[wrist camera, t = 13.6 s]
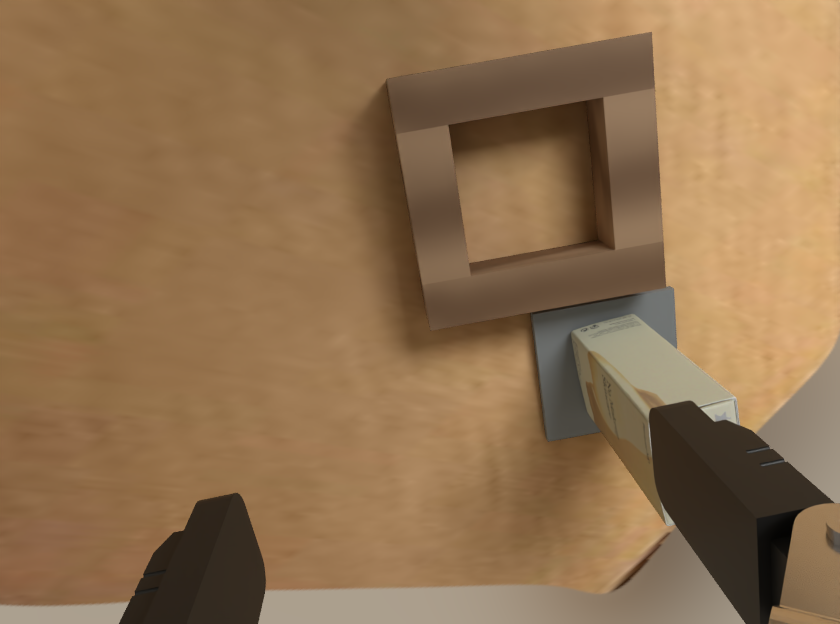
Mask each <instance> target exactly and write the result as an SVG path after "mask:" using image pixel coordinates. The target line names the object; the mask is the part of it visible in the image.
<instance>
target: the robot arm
mask: <svg viewBox="0 0 840 624" xmlns="http://www.w3.org/2000/svg"><path fill="white" fill-rule="evenodd" d="M649 428H650V438H651V449H652V460H653V471H654V480H655V485H656V489H657V492H658V495H659V498H660V501H661V503H662V505H663V507H664V509H665V510H666V512H667V513H668V515H669V516H670V518H671V519H672V521H673V522H674V523H675V525H676V526H677V528H678V529H679V530H680V532H681V533H682V535H683V536H684V537H685V539H686V540H687V542H688V543H689V544H690V546H691V547H692V549H693V550H694V551H695V553H696V554H697V555H698V557H699V558H700V560H701V561H702V563H703V564H704V565H705V567H706V568H707V570H708V571H709V573H710V574H711V575H712V577H713V578H714V580H715V581H716V582H717V584H718V585H719V587H720V588H721V589H722V591H723V592H724V594H725V595H726V597H727V598H728V599H729V601H730V602H731V603H732V605H733V606H734V608H735V609H736V611H737V612H738V613H739V615H740V616H741V618H742V619H743V620H744V622H745V623H746V624H840V503H834V502H833V501H832V500H831V499H830V498H828V497H827V496H826V495H825V494H824V493H822V492H821V491H820V490H819V489H818V488H817V487H816V486H815V485H813V484H812V483H811V482H810V481H809V480H808V479H807V478H805V477H804V476H803V475H802V474H801V473H800V472H798V471H797V470H796V469H795V468H794V467H793V466H792V465H791V464H789V463H788V462H785V461H784V459H783V457H781V456H780V455H779V454H778V453H777V452H776V451H774V450H773V449H770V448H769V445H768V444H766V443H765V442H764V441H763V440H762V439H761V438H760V437H758V436H757V435H756V434H755V433H754V432H753V431H752V430H749V429H747V428H745V427H742V426H740V425H737V424H735V423H733V422H730V421H728V420H726V419H725V420H721V421H716V422H714V421H713V420H712V419H711V418H710V417H709V416H708V415H707V414H706V413H705V412H704V411H703V410H702V409H700V408H699V407H698V406H697V405H696V404H695V403H694V402H693V401H691V400H688V401H683V402H678V403H673V404H668V405H664V406H659V407H654V408H651V409H650V412H649ZM143 575H144V578H141V580H140V582H139V584H138V586H137V588H136V590H135V596H132V598H131V600H130V602H129V604H128V607H127V608H126V610H125V612H124V614H123V617H122V619H121V620H120V623H119V624H258V621H259V616H260V612H261V608H262V603H263V599H264V594H265V587H266V577H265V568H264V562H263V558H262V555H261V552H260V549H259V546H258V543H257V540H256V537H255V534H254V531H253V528H252V525H251V522H250V518H249V515H248V512H247V509H246V506H245V503H244V501H243V499H242V497H241V496H240V494H238V493H233V494H229V495H224V496H219V497H214V498H209V499H205V500H200V501H198V502H197V503H196V505H195V507H194V509H193V511H192V514H191V516H190V518H189V520H188V523H187V525H186V527H185V529H184V531H179V532H174V533H173V534H172V535H171V536H170V537H169V538H168V539H167V540H166V541H165V542H164V543H163V544H162V545H161V546H160V547H159V548H158V549H157V550H156V551H155V552H154V553H153V555H152V557H151V559H150V561H149V563H148V565H147V568H146V570H145V572H144V574H143Z"/></svg>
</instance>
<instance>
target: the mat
mask: <svg viewBox="0 0 840 624" xmlns="http://www.w3.org/2000/svg"><path fill="white" fill-rule="evenodd" d="M629 314H635V315H636V316H637V317H639V318H640V319H641V320H642V321H643V322H645V323H646V324H647V325H648V326H649V327H651V328H652V329H653V330H654V331H655V332H657V333H658V334H659V335H660V336H661V337H663V338H664V339H665V340H666V341H668V342H669V343H670V344H671V345H673V346H674V347H675V348H676V349H677V338H676V319H675V300H674V289H673V288H672V287H670V286H669V287H666V288H662V289H657V290H651V291H646V292H640V293H635V294H629V295H624V296H618V297H613V298H607V299H602V300H597V301H591V302H586V303H580V304H575V305H569V306H564V307H558V308H553V309H547V310H542V311H536V312H531V321H532V329H533V337H534V345H535V354H536V362H537V370H538V378H539V386H540V394H541V402H542V410H543V418H544V427H545V435H546V439H547V441H548V442H549V441H555V440H560V439H566V438H571V437H576V436H582V435H587V434H593V433H598V432H601V431H600V430H599V428H598V427H597V425H596V424H595V423H594V421H593V420H592V418H591V417H590V415H589V414H588V412H587V409H586V405H585V401H584V397H583V393H582V389H581V385H580V380H579V376H578V371H577V366H576V361H575V356H574V350H573V344H572V337H571V332H572V331H573V330H576V329H579V328H582V327H585V326H588V325H591V324H595V323H598V322H602V321H606V320H610V319H613V318H617V317H622V316H626V315H629Z"/></svg>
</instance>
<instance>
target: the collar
mask: <svg viewBox="0 0 840 624" xmlns="http://www.w3.org/2000/svg"><path fill="white" fill-rule="evenodd" d="M386 86H387V92H388V97H389V103H390V109H391V115H392V120H393V126H394V132H395V137H396V143H397V149H398V155H399V160H400V166H401V172H402V178H403V183H404V189H405V195H406V200H407V206H408V212H409V218H410V223H411V229H412V235H413V241H414V246H415V252H416V258H417V264H418V269H419V275H420V281H421V286H422V292H423V298H424V304H425V309H426V315H427V319H428V323H429V327H430V331H432V330H438V329H443V328H448V327H454V326H459V325H465V324H470V323H476V322H481V321H487V320H492V319H498V318H503V317H509V316H514V315H520V314H525V313H531V312H536V311H542V310H547V309H553V308H558V307H564V306H569V305H575V304H580V303H586V302H591V301H597V300H602V299H607V298H613V297H618V296H624V295H629V294H635V293H640V292H646V291H651V290H657V289H662V288H666V279H665V261H664V243H663V226H662V208H661V190H660V172H659V154H658V136H657V118H656V101H655V83H654V65H653V47H652V32H649V33H643V34H638V35H632V36H626V37H621V38H615V39H609V40H604V41H598V42H592V43H587V44H581V45H575V46H570V47H564V48H558V49H553V50H547V51H542V52H536V53H530V54H525V55H519V56H513V57H508V58H502V59H496V60H491V61H485V62H479V63H474V64H468V65H462V66H457V67H451V68H445V69H440V70H434V71H428V72H423V73H417V74H411V75H406V76H400V77H394V78H389V79H386ZM585 100H586V106H587V117H588V129H589V140H590V152H591V163H592V175H593V186H594V198H595V209H596V221H597V232H598V240H596V241H591V242H585V243H580V244H574V245H569V246H563V247H558V248H552V249H546V250H541V251H535V252H530V253H524V254H519V255H513V256H508V257H502V258H497V259H491V260H486V261H480V262H475V263H469V260H468V253H467V247H466V240H465V233H464V227H463V220H462V213H461V207H460V200H459V193H458V187H457V180H456V173H455V167H454V160H453V153H452V147H451V140H450V133H449V127H448V125H451V124H456V123H462V122H467V121H473V120H479V119H484V118H490V117H495V116H501V115H507V114H512V113H518V112H524V111H529V110H535V109H540V108H546V107H552V106H557V105H563V104H569V103H574V102H580V101H585Z"/></svg>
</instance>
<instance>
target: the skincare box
mask: <svg viewBox="0 0 840 624" xmlns="http://www.w3.org/2000/svg"><path fill="white" fill-rule="evenodd" d="M571 337H572V344H573V350H574V356H575V361H576V366H577V371H578V376H579V380H580V385H581V389H582V393H583V397H584V401H585V405H586V409H587V412H588V414H589V415H590V417H591V418H592V420H593V421H594V423H595V424H596V425H597V427H598V428H599V430H600V431H601V432H602V434H603V435H604V436H605V438H606V439H607V441H608V442H609V444H610V445H611V447H612V448H613V449H614V451H615V452H616V454H617V455H618V457H619V458H620V459H621V461H622V462H623V464H624V465H625V467H626V468H627V469H628V471H629V472H630V474H631V475H632V477H633V478H634V480H635V481H636V482H637V484H638V485H639V487H640V488H641V490H642V491H643V492H644V494H645V495H646V497H647V498H648V500H649V501H650V502H651V504H652V505H653V507H654V508H655V510H656V511H657V512H658V514H659V515H660V517H661V518H662V520H663V521H664V523H665V524H666V525H667V526H671V525H675V523H674V522H673V521H672V519H671V518H670V516H669V515H668V513H667V512H666V510H665V509H664V507H663V505H662V503H661V501H660V498H659V495H658V492H657V489H656V485H655V480H654V471H653V460H652V449H651V438H650V428H649V412H650V409H651V408H654V407H659V406H664V405H668V404H673V403H678V402H683V401H688V400H691V401H693V402H694V403H695V404H696V405H697V406H698V407H699V408H700V409H702V410H703V411H704V412H705V413H706V414H707V415H708V416H709V417H710V418H711V419H712V420H713V421H714V422H716V421H721V420H725V419H726V420H728V421H730V422H733V423H735V424H737V425H740V422H739V414H738V407H737V399H736V397H735V396H734V395H732V394H731V393H730V392H729V391H727V390H726V389H725V388H724V387H722V386H721V385H720V384H719V383H718V382H716V381H715V380H714V379H713V378H711V377H710V376H709V375H708V374H707V373H705V372H704V371H703V370H702V369H701V368H699V367H698V366H697V365H696V364H694V363H693V362H692V361H691V360H690V359H688V358H687V357H686V356H685V355H683V354H682V353H681V352H680V351H679V350H677V349H676V348H675V347H674V346H673V345H671V344H670V343H669V342H668V341H666V340H665V339H664V338H663V337H661V336H660V335H659V334H658V333H657V332H655V331H654V330H653V329H652V328H651V327H649V326H648V325H647V324H646V323H645V322H643V321H642V320H641V319H640V318H639V317H637V316H636V315H635V314H629V315H626V316H622V317H617V318H613V319H610V320H606V321H602V322H598V323H595V324H591V325H588V326H585V327H582V328H579V329H576V330H573V331H572V332H571Z"/></svg>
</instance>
